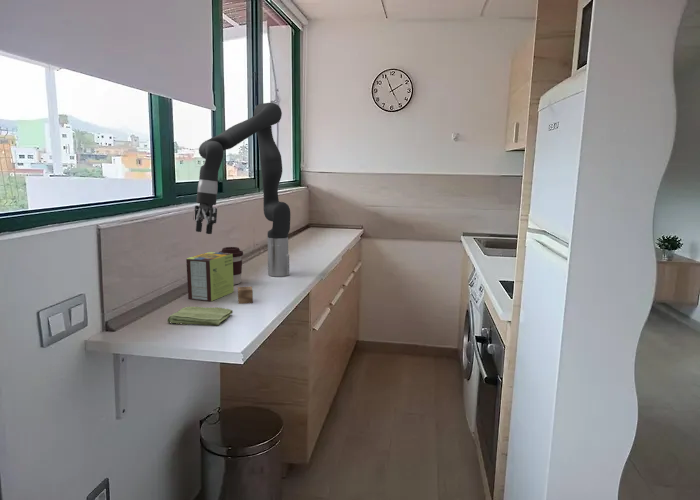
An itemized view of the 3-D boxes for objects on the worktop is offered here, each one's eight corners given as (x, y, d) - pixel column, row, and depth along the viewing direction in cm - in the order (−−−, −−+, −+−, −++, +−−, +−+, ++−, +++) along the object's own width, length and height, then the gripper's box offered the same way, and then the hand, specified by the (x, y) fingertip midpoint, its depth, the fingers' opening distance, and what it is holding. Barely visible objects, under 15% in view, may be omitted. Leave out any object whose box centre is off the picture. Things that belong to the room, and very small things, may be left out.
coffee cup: (237, 286, 204) (236, 250, 201) (215, 285, 206) (214, 249, 203) (247, 281, 213) (246, 246, 211) (226, 279, 215) (224, 245, 213)
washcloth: (220, 327, 154) (220, 317, 153) (165, 325, 156) (165, 315, 155) (234, 315, 167) (233, 306, 166) (183, 313, 168) (183, 304, 168)
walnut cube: (251, 299, 185) (251, 286, 184) (252, 303, 180) (252, 289, 180) (238, 300, 184) (237, 287, 183) (238, 304, 179) (238, 290, 178)
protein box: (234, 292, 196) (233, 253, 193) (211, 301, 181) (209, 260, 179) (211, 289, 199) (210, 251, 196) (187, 299, 185) (185, 258, 182)
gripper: (224, 194, 195) (221, 235, 196) (207, 192, 205) (203, 231, 206) (207, 191, 189) (203, 234, 190) (190, 190, 199) (186, 230, 201)
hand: (203, 232), depth 198 cm, fingers open, 8 cm apart
